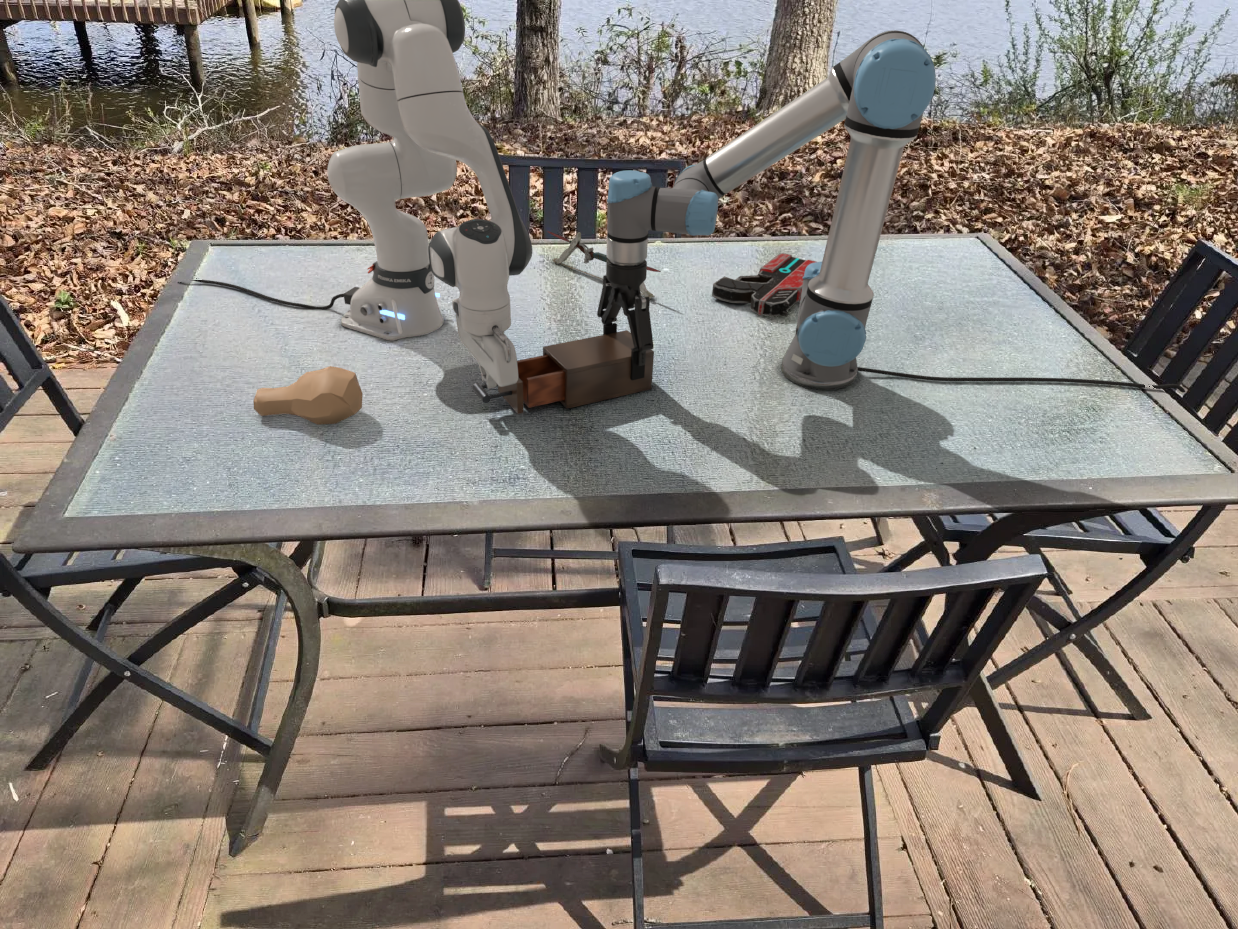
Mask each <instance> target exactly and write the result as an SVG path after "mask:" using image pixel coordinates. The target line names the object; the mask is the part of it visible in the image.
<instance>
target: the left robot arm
mask: <svg viewBox="0 0 1238 929" xmlns="http://www.w3.org/2000/svg"><path fill="white" fill-rule="evenodd" d="M333 28H334V29H333V30H334V33H335V37H336V40H337V42H338V44H339V47H340V49H341V51H342V53H343V54H344V55H345V56H346V57H347V58H348V59H350V60H351V61H353V62H356V68H357V81H358V95H359V106H360V112H361V115H362V117H363V119H364V120H365V122H366V123H367V124H368V125H369V126H371V127H372V128H373V129H374V130H376V131H378V132H380V133H383V134H385V135H388V136H390V137H392V140H391V141H388V142H378V143H367V144H356V145H353V146H352V145H351V146H349V147H345V148H342V149H339V150H337V151H334V152H333V153H332V155H331V156H330V158H329V159H328V164H327V168H326V169H327V170H326V171H327V172H326V175H327V181H328V184H329V186H330V188H331V189H332V192H334V194H335V195H336V196H337V197H338V198H339V199H340V200H342V201H343V202H345V203H347V204H348V205H350V206H351V207H353V208H354V209H355V210H357V211H358V212H359V213H360V214H361V216H362V217H363V218H364V220H365V221H366V222H367V224H368V226H369V229H370V231H371V235H372V240H373V243H374V248H375V253H376V254H375V255H376V261H374V262H373V263H372V265H371V266H369V267H368V268H367V274H370V273H372V277H371V278H370V279H369V280H367V282H365V283H364V284H363V285H362V286H360V287H358V286H354V287H352V288H351V289H349V290H347V291H345V292H343V293H340V294H339V293H338V294H336V295H334V296H333V297H331V300H330V303H329V304H327V305H325V306H315V305H309V304H304V303H299V302H292V301H287V300H282V299H279V298H275V297H271V296H268V295H265V294H263V293H260V292H257V291H254V290H251V289H248V288H245V287H243V286H240V285H236V284H232V283H228V282H223V281H217V280H208V279H202V280H191V281H193V282H197V283H200V284H201V283H202V284H211V285H217V286H223V287H228V288H230V289H231V288H232V289H236V290H239V291H242V292H245V293H248V294H251V295H253V296H256V297H259V298H261V299H264V300H267V301H271V302H274V303H278V304H281V305H287V306H291V307H296V308H298V307H299V308H303V309H308V310H329V309H331V308H333V306H334V304H335V302H336V300H339V299H340V298H343V300H344V304H345V305H349V310H347V311H346V313H344V314H343V316H342V317H341V320H340V324H341V326H342V327H344V328H347V329H350V330H354V331H357V332H360V333H364V334H367V335H370V336H373V337H377V338H380V339H383V340H387V341H396V340H397V341H398V340H401V339H404V338H412V337H420V336H423V335H427V334H430V333H431V334H432V333H434V332H436V331H437V330H439V329H441V327H442V326H443V325H444V323H445V320H444V317H443V314H442V312H441V310H440V307H439V303H438V300H437V298H441V293H439V292H436V291H435V278H437V279H438V280H440V281H441V282H442V283H444V284H446V285H447V286H450V287H452V288H457V289H458V291H459V297H458V298H455V299H452V301H451V305H452V306H451V307H452V310H453V312H454V313H455V320H456V321H455V322H456V328H457V329H456V330H457V334H458V337H459V341H460V343H461V344H462V345H463V346H464V347H465V348H466V350H467V351H468V352H469V354H470V355H471V356H472V357H473V358H474V359H475V360H476V361H477V364H478V368H479V372H480V374H481V381H482V383H483V385H486V386H487V387H488V388H487V389H489V390H491V389H495V388H497V387H498V386H500V387H503V386H508V385H512V384H515V383H517V381H518V365H517V361H518V357H517V351H516V347H515V344H514V343H513V342H512V340H511V339H510V338H509V337H508V336H507V335H506V334H505V332H506V331H507V330H509V329H510V327H511V326H512V313H511V311H512V310H511V296H510V293H509V289H508V283H509V279H510V276H511V277H512V276H520V275H521V274H522V273H523V271H525V269H526V268H527V266H528V265H529V263H530V262H531V259H532V257H533V243H532V239H531V237H530V234H529V232H528V230H527V227H526V225H525V223H524V222H523V219H522V217H521V215H520V212H519V210H518V207H517V204H516V201H515V197H514V194H513V192H512V189H511V185H510V182H509V180H508V177H507V174H506V172H505V167H504V165H503V163H502V159H501V157H500V154H499V151H498V149H497V147H496V144H495V141H494V139H493V137H492V135H491V133H490V131H489V130H488V128H486V127H485V126H484V125H482V124H480V123H478V122H477V120H476V119H475V118H474V116H473V115H472V113H471V111H470V109H469V108H468V105H467V101H466V99H465V94H464V90H463V85H462V81H461V76H460V71H459V69H458V65H457V62H456V59H455V56H454V53H457V51H458V50H460V48H461V46H462V45H463V43H464V41H465V36H466V22H465V16H464V11H463V8H462V6H461V3H460V1H459V0H338V1H337V3H336V5H335V8H334V18H333ZM457 162H460V163H462V164H464V165H466V166H467V167H468V168H470V169H471V170H472V171H473V173H474V174H475V176H476V177H477V180H478V183H479V185H480V189H481V191H482V194H483V197H484V199H485V203H486V205H487V208H488V211H489V214H490V220H489V219H483V218H474V219H468V220H466V221H463V222H462V223H460V224H459V225H458V226H454V227H449V228H444V229H442V230H439V231H436V232H435V233H434V235H433V236H432V237H431V240H430V242H429V232H428V229H427V226H426V225H425V223H424V222H423V221H422V220H421V219H420V218H419V217H417V216H415V215H414V214H413V215H412V214H410V213H408V212H404V211H402V210H399V209H398V208H397V207H396V201H399V200H404V199H411V198H421V197H429V196H433V195H436V194H439V193H442V192H445V191H448V190H450V189H451V188H452V187H453V185H454V183H455V182H456V178H457V176H458V175H457V174H458V165H457ZM195 278H196V279H197V278H198V277H195ZM497 385H498V386H497Z"/></svg>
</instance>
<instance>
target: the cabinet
mask: <svg viewBox="0 0 1238 929" xmlns="http://www.w3.org/2000/svg"><path fill="white" fill-rule="evenodd" d="M632 348H634V344H633V340H632V336H631V332H630V330H626V329H625V330H621V331H617V332H616V333H610V334H605V335H603V334H601V335H595V336H590V337H586V338H580V339H575V340H569V341H565V342H559V343H555V344H550V345H546V346H542V356H543V355H548V356H549V357H550V358H551V359H552V360H553V361H554V362H555V363H556V364H557V365H558V366H560V367H561V368H562V369H563V370H564V371H565V400H562V401H559V402H560V404H561V405H563V407H564V408H565V409H566V410H568V409H571V408H575V407H576V408H577V407H580V406H585V405H590V404H594V403H598V402H602V401H606V400H611V399H615V398H619V397H624V396H629V395H632V394H637V393H641V392H645V391H646V392H647V391H649V390H652V387H653V386H652V385H653V375H654V374H653V372H654V361H655V360H654V358H655V351H654V349H651V350H647V351H646V361H645V374H644V378H641V379H637V380H631V379H630V374H631V349H632Z"/></svg>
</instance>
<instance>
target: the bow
mask: <svg viewBox="0 0 1238 929" xmlns="http://www.w3.org/2000/svg"><path fill="white" fill-rule="evenodd" d="M546 232H547V233H548V234H550V235H551V236H553V237H554V238H555V237H556V238H558V239H559V240H562V241H565V242H568V243H569V246H568V247H567V248H565V249H564V251H562V253H561V254H560V256H559V257H558V258H557V257H555V258H553V259H552V262H553V263H555V264H558V265H559V264H560V265H562V266H565V267H568V268H570V269H573V270H576V271H577V272H578V271H579V272H581V273H584V274H587V275H589V276H592V277H595V278H597V279H600V280H602V281H603V277H602V278H601V277H599V276H596V275H594V274H591V273H588V272H585V271H584V270H581V269H577V268H575V267H573V266H570V265H568V264H564V262H566V261H567V260H568V259H569V257H570V256H571V255H572V254H573V252H574V251H576V250H577V249H578V250H579V251H580V252H581V253H583V254H584V258H583V264H585V265H586V264H589V263H590V262H591V261H593V260H594V259H595V260H598V261H601V262H603V263H606V261H607V259H608V258H607V257H606V253H605V254H604V253H602V252H597V251H596V252H595V251H594V247H588V246H587V244H585V243H582V242H581V241H582V233H581V231H580V232H577V233H576V235H575V237H574V238H573V239H571V240H569V239H568V238H566V237H564V236H563V235H560V234H557V233H555V232H552V231H549V230H546ZM647 271H648V272H649V271H650V272H655V273H661V272H662V270H659V269H656V268H654V267H651V266H648V265H647ZM640 292H641V296H643V297H649V299H650V300H651V299H652V298H655V295H654V294H653V293H651V292H650V290H648V289H647V287H646V284H645V281H644V282H643V283H642V284H641V285H640Z"/></svg>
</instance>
